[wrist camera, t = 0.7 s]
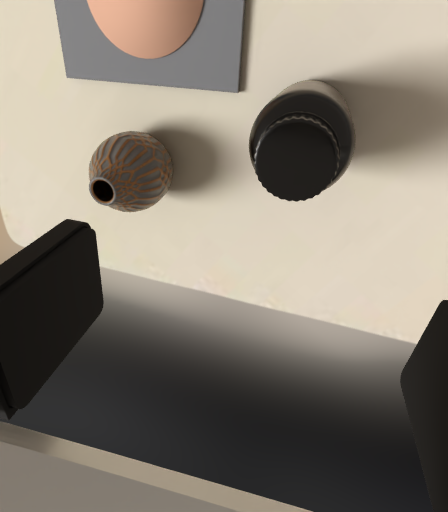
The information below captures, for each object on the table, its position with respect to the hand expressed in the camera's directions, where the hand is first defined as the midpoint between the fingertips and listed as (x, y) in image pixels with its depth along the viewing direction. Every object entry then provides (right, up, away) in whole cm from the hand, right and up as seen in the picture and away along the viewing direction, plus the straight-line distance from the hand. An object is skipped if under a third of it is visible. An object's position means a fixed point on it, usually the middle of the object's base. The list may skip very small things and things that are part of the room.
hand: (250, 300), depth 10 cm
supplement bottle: (+6, +13, +20) cm, 24 cm away
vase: (-8, +11, +25) cm, 29 cm away
